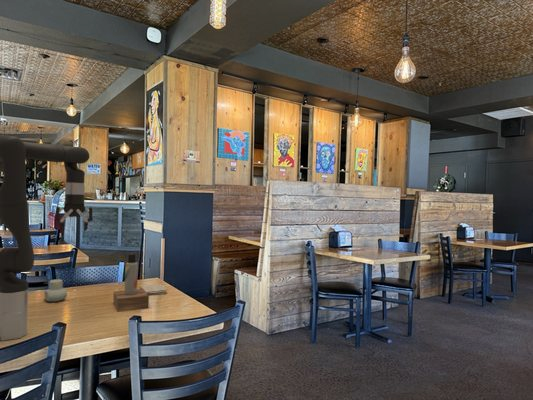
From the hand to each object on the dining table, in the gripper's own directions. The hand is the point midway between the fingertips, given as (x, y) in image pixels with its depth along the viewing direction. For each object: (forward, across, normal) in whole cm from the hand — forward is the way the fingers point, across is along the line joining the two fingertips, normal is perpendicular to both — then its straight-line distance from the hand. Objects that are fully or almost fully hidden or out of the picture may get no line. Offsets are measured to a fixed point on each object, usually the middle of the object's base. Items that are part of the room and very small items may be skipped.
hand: (73, 230), depth 159 cm
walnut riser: (+38, +26, +9) cm, 47 cm away
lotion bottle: (+32, +26, +9) cm, 42 cm away
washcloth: (+39, +42, +33) cm, 66 cm away
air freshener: (+38, -6, +33) cm, 51 cm away
